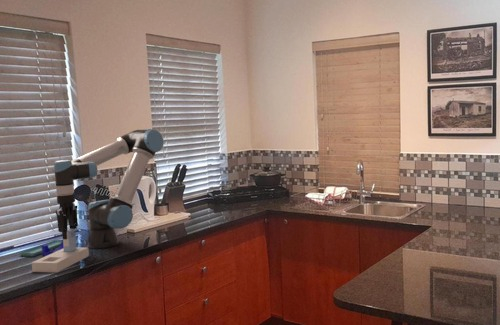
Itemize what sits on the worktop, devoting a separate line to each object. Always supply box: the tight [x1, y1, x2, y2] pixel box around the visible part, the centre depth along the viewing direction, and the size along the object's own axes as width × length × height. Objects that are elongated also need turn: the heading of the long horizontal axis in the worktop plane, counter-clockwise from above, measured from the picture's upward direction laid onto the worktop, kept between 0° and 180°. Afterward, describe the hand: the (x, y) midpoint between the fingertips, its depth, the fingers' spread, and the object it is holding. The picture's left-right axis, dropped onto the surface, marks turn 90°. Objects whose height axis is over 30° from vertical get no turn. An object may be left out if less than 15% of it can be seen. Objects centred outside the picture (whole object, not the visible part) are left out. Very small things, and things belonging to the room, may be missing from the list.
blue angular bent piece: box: [41, 239, 63, 257], centre depth 238 cm, size 12×4×6 cm, turn 142°
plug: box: [63, 228, 77, 252], centre depth 224 cm, size 4×5×12 cm
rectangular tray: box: [19, 239, 63, 258], centre depth 249 cm, size 26×9×2 cm, turn 161°
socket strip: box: [31, 246, 90, 274], centre depth 218 cm, size 24×12×5 cm, turn 166°
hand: (69, 244), depth 224 cm, fingers closed on plug, 4 cm apart
